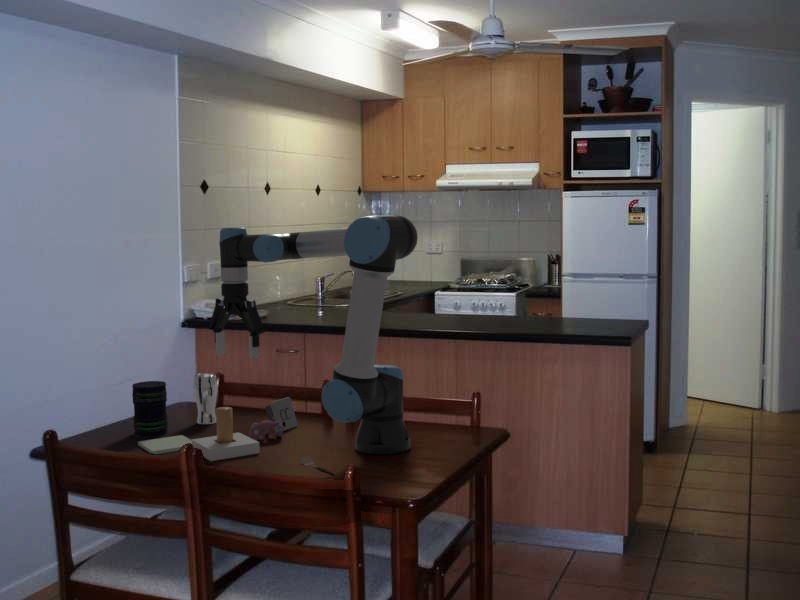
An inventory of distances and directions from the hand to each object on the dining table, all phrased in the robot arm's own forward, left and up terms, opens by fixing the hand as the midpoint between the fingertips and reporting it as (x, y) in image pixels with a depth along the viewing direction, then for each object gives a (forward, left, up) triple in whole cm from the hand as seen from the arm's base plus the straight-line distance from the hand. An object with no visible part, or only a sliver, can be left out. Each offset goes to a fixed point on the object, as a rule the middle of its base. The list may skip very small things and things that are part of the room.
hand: (237, 356), depth 266 cm
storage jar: (+24, +18, -24) cm, 38 cm away
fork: (-39, -5, -25) cm, 47 cm away
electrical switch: (+6, -16, -24) cm, 30 cm away
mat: (+6, +19, -24) cm, 31 cm away
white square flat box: (-9, +8, -24) cm, 27 cm away
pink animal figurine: (-3, -7, -25) cm, 26 cm away
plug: (-9, +8, -24) cm, 27 cm away
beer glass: (+28, -1, -24) cm, 37 cm away
